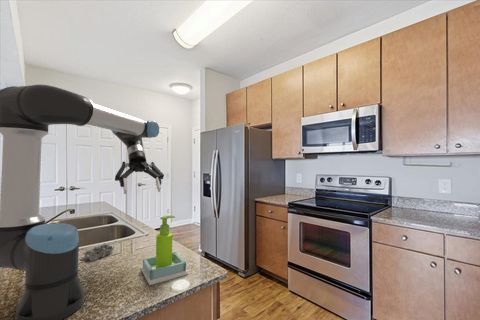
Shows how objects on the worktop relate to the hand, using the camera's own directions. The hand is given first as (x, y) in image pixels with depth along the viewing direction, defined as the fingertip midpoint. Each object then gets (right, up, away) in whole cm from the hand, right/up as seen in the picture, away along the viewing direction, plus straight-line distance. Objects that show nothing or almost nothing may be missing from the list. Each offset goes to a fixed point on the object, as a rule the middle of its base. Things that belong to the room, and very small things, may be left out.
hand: (143, 191), depth 97 cm
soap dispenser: (+12, -29, -9) cm, 33 cm away
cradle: (+12, -30, -9) cm, 33 cm away
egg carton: (-22, -30, +5) cm, 37 cm away
